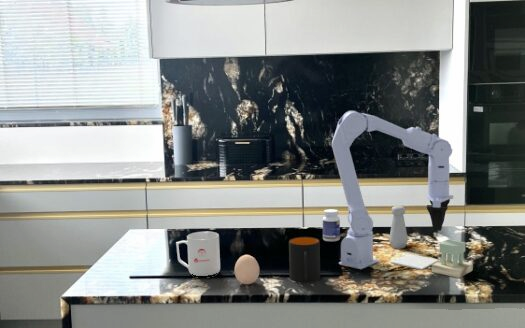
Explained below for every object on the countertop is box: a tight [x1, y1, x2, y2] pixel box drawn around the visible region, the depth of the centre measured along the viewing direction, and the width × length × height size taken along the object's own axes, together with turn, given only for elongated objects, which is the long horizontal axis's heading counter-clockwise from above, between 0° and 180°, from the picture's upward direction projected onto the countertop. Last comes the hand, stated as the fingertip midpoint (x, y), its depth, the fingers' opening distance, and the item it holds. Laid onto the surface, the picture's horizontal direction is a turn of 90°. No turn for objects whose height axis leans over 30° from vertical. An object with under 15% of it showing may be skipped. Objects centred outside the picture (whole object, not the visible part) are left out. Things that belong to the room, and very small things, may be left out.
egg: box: [234, 254, 260, 285], centre depth 158 cm, size 7×7×8 cm
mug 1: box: [175, 231, 221, 276], centre depth 167 cm, size 12×9×11 cm
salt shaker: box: [388, 205, 409, 249], centre depth 187 cm, size 6×6×13 cm
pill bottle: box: [322, 208, 341, 242], centre depth 198 cm, size 6×6×10 cm
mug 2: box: [288, 236, 321, 284], centre depth 159 cm, size 8×12×10 cm
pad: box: [390, 253, 440, 271], centre depth 172 cm, size 10×10×1 cm
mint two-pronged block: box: [439, 239, 466, 267], centre depth 162 cm, size 5×5×6 cm
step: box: [431, 257, 474, 279], centre depth 162 cm, size 8×8×2 cm
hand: (438, 226), depth 170 cm, fingers open, 7 cm apart
